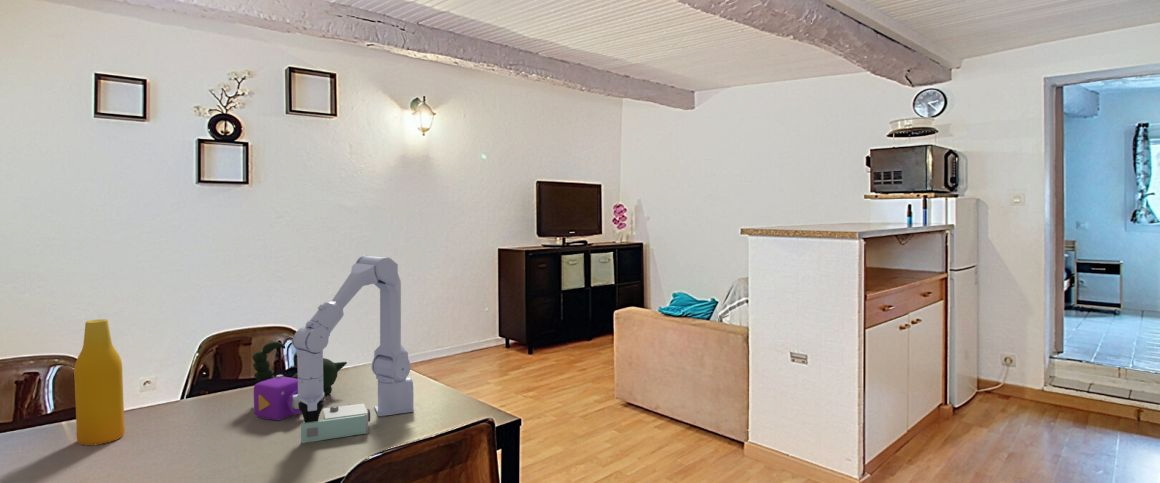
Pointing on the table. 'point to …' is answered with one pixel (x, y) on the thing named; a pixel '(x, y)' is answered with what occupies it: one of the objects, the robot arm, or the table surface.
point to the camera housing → (345, 411)
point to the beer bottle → (98, 387)
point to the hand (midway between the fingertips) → (311, 430)
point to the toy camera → (276, 398)
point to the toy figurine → (266, 373)
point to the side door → (334, 428)
